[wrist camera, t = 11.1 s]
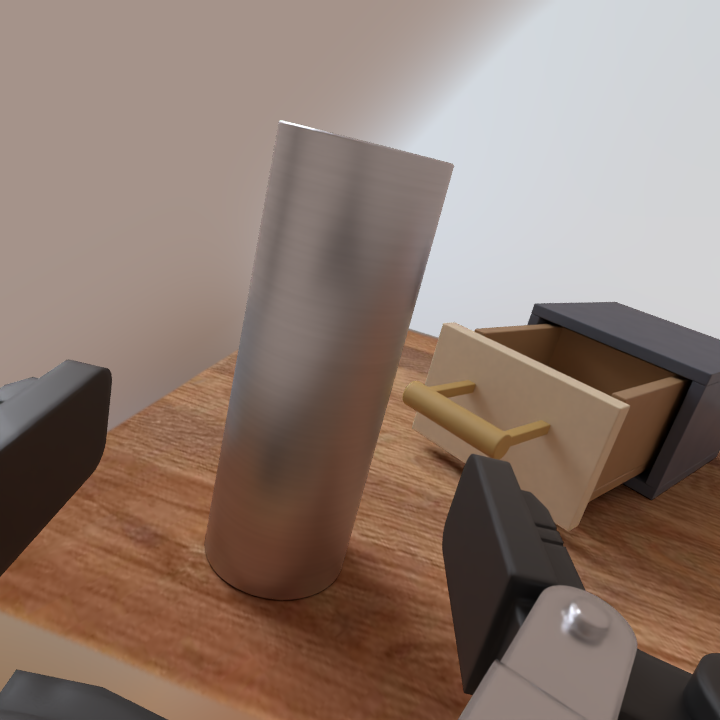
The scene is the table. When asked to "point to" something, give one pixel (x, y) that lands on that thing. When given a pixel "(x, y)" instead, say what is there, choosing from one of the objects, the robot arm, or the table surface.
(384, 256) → the cylinder
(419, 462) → the table surface
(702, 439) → the cabinet
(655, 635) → the table surface
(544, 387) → the drawer
